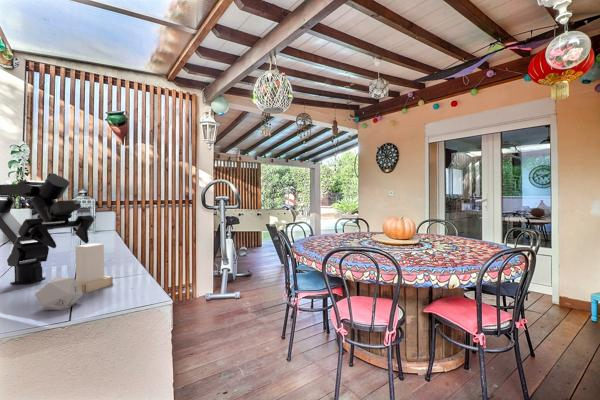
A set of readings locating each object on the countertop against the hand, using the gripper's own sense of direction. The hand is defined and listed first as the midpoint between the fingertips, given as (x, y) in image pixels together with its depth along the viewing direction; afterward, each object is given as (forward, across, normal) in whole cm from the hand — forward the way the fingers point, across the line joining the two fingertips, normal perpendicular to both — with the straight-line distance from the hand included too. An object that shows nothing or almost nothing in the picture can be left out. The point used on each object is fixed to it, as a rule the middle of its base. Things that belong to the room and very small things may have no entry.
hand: (72, 244), depth 90 cm
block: (+15, 0, +3) cm, 15 cm away
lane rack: (+12, 0, +7) cm, 14 cm away
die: (+21, -13, -2) cm, 25 cm away
